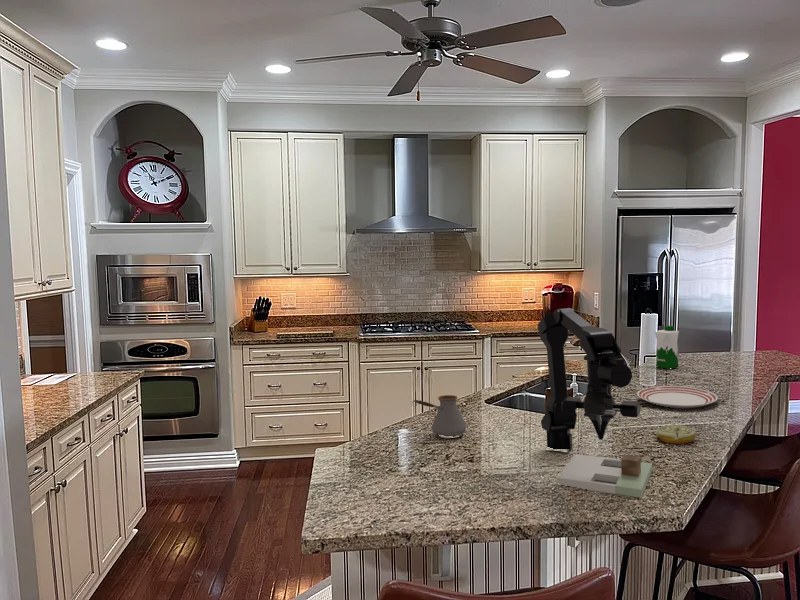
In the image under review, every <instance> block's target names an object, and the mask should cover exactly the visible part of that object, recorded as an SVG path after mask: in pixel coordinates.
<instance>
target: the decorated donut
mask: <svg viewBox="0 0 800 600" xmlns="http://www.w3.org/2000/svg"><path fill="white" fill-rule="evenodd" d="M655 435H656V436H657V437H658V439H660V440H661V441H662V442H664V443H666V444H675V445H677V444H678V445H683V444H688V443H692V442H693V441H694V440H695V438H696V430H695V429H693V428H692V427H690V426H687V425H686V426H685V425H680V424H673V423H672V424H665V425H662V426H659V428H658V429H656V431H655Z"/></svg>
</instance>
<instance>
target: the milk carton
mask: <svg viewBox="0 0 800 600" xmlns="http://www.w3.org/2000/svg"><path fill="white" fill-rule="evenodd" d="M656 331H657V332H656ZM679 333H680V330H676V329H675V325H665V326H664V329H660V330H658V329H657V330H655V331H654V335H655V339H656V364H655V365H656V366H658V367H662V368H666V369H670V368H676V367H679V354H678V353H679V352H678V351H679V348H678V347H679V346H678V340H679V335H680V334H679ZM666 369H665V370H666ZM676 369H677V368H676ZM670 370H671V369H670Z"/></svg>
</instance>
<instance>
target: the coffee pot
mask: <svg viewBox="0 0 800 600" xmlns="http://www.w3.org/2000/svg"><path fill="white" fill-rule="evenodd" d="M437 399H438V400H439V403H440V404H439V405H435V404H432V403H429V402H427V401H421V400H420V399H419V400H417V399H414V400H413V401H412V402H411V406H412V407H414V405H413V403H414V402H415V403H416V404H415V406H418V405H422V406H425V407H429V408H434V409H437V412H436V413H435V414H436V415H435V417H434V420H433V423H432V425H431V430H432V432H433V433H434V434H435V433H436V434H439V435H444V436H456V435H460V434H462V435H463V434H464V433H465V432H466V429H467V424H466V421H465V420H464V417H463V416H462V414H461V413H462V412H461V411H460V410H459V407H458V405H457V400H458V396H457V395H453V394H451V395H450V394H447V395H440V396H438V397H437ZM436 434H435V435H436Z"/></svg>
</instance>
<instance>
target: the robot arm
mask: <svg viewBox="0 0 800 600" xmlns="http://www.w3.org/2000/svg"><path fill="white" fill-rule="evenodd" d="M537 323H538V324H537V331H538V333H539V338H540V340H541V342H542V344H544V346H545V347H546V355H547V366H548V367H547V369H548V379H549V389H550V396H549V397H548V401H547V402H546V404H545V413H544V415H543V416H542V419H541V420H540V424H541V428H542V429H543V430H545V431H546V448H547V447H550V448H553V449H570V450H571V449H572V448H573V433H571V430H575V429H576V424H577V418H578V415H577V411H576V410H577V409H581V410H582V409H583V410H584V413H583V416H584V417H588V419H589V420H590V421H591V423H592V425H593V428H594V430H595V433H596V434H597V438H598V440H600V441H602V440H604V437H605V434H606V431H607V428H608V425H609V423H610V421H611V419H615V417H616V415H617V414H618V413H619V412H620V413H619V414H621V416H622V417H624V418H625V417H626V418H638V417H639V416H640V413H641V404H640V402H639V401H638V400H637V401H635V400H623V401H622V403H614V397H613V395H612V386H614V387H617V388H625V387H626V386H628V385H630V383H631V381H632V378H633V372H632V371H631V370H632V369H631V368H630V367H629V366H628V365H627V364H625V359H624V358H623V356H622V350H621V348H620V347H619V345H618V343H617V340H616V338H615V336H614V334H613V333H612V332H611V331H610V330H608V329H606V328H604V327H599V326H594V325H592V324H591V323H589V322H588V321H587V320H586V319H584V318H583V317H582V316H581V315H579V314H578V313H576V312H575V309H573V308H571V307H567V308H565V307H564V308H558V309H555V310H554V311H553V312H552V313H550V314H548V315H545V316H543V317H542V318H541V319H540V320H539V322H537ZM569 332H570V333H572V335H574V336H575V337H576V338H577V339H578V340H579V346H580V347H581V349H582V350H583V352H584V353H585V354H586V355H584V357H583V360H584V361H586V364H587V365H586V366H587V369H586V370H587V371H586V372H587V373H586V374H587V385H586V387H587V388H586V393H585V396H584V398H583V401H582V398H581V397H580V396H579V397H578V396H569V394H568V385H567V373H566V359H565V349H564V346H565V345H566V342H567V341H568V338H569Z"/></svg>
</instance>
